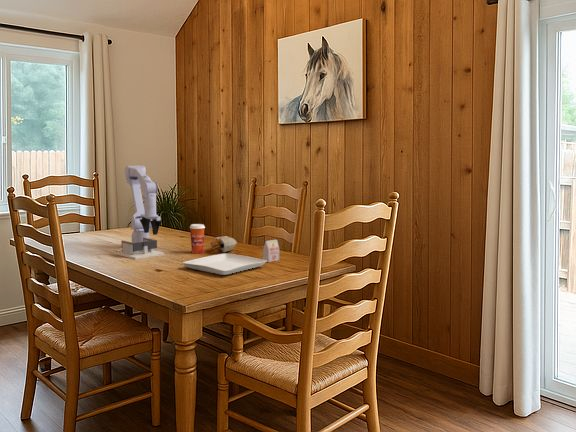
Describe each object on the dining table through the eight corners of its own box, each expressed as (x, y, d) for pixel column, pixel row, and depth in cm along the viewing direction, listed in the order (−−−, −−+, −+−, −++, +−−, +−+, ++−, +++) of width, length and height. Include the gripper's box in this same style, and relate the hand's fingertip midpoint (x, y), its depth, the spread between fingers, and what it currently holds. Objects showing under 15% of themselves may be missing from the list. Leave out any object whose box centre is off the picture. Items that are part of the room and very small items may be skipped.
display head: (117, 254, 286) (116, 242, 285) (145, 250, 298) (145, 238, 297) (135, 259, 275) (135, 246, 275) (163, 254, 287) (163, 242, 286)
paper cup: (190, 254, 289) (190, 226, 287) (189, 251, 296) (188, 224, 294) (206, 253, 291) (206, 225, 289) (204, 250, 298) (204, 223, 296)
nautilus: (217, 258, 283) (194, 256, 291) (244, 248, 300) (221, 247, 309) (215, 242, 281) (192, 240, 290) (243, 233, 299) (220, 232, 307)
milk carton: (263, 261, 273) (263, 240, 272) (274, 259, 277) (274, 239, 276) (268, 262, 270) (268, 241, 269) (279, 261, 275) (279, 240, 273)
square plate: (225, 260, 277) (225, 252, 277) (268, 268, 260) (268, 259, 260) (180, 269, 257) (180, 260, 256) (224, 279, 239) (224, 269, 239)
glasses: (121, 248, 286) (121, 240, 285) (144, 245, 295) (144, 237, 295) (134, 251, 278) (134, 243, 278) (157, 248, 288) (157, 240, 287)
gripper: (165, 207, 289) (166, 234, 290) (148, 204, 298) (149, 231, 300) (153, 208, 283) (154, 235, 285) (136, 205, 293) (137, 232, 295)
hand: (150, 233), depth 292 cm, fingers open, 7 cm apart
